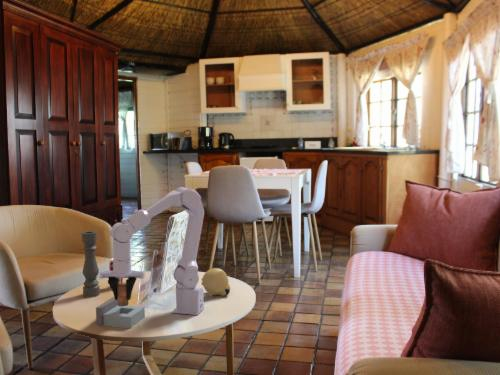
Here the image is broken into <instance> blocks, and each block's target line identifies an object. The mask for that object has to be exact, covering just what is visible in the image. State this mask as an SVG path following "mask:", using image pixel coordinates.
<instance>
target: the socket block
mask: <svg viewBox="0 0 500 375" xmlns="http://www.w3.org/2000/svg"><path fill="white" fill-rule="evenodd" d="M145 317H146V310H145V306H136V305H127V306H118V305H117V306H115V307H114V308H112V309H111V310H109V311H108V312H106V313H105V314H103V327H104V326H107V327H114V328H115V327H116V328H117V327H118V328H125V329H127V328H128V329H132V328H133V327H134V326H137V324H138V323H140V322H141V321H142V320H144V318H145Z"/></svg>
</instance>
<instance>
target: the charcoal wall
mask: <svg viewBox="0 0 500 375" xmlns="http://www.w3.org/2000/svg"><path fill="white" fill-rule="evenodd" d="M117 305H118V299H117V300H115V297H114V296H112V297H111V298H109V299H107V301H104V302H103V303H101V304H100V305H98V306H96V307H95V320H96V326H98V327H102V326H103V327H104V325H103V314H105V313H106V312H108V311H109V310H111V309H112V308H114V307H115V306H117Z"/></svg>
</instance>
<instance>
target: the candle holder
mask: <svg viewBox="0 0 500 375" xmlns="http://www.w3.org/2000/svg"><path fill="white" fill-rule="evenodd" d="M81 241H82V243H83V245H84V246H83V248H82V250H83V251H84V262H83V263H84V264H83V268H82V276H83V277H84V282H83V287H82V294H83V295H82V296H83V297H85V298H94V297H97V296H99V295H100V294H101V293H100V292H101V291H100V285H99V284H100V283H99V280H98V279H97V278H98V275H99V274H100V269H99V267H98V262H97V258H96V250H97V248H98V247H97V246H96V243H97V241H98V232H97V231H94V230H87V231H82V232H81Z"/></svg>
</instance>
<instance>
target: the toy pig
mask: <svg viewBox="0 0 500 375" xmlns="http://www.w3.org/2000/svg"><path fill="white" fill-rule="evenodd" d="M201 285H202V286H203V289H204V290H205V291H206V292H207V294H206V295H207V296H208V297H210V296H211V295H212V296H221V297H222V296H223V297H224V296H227V295H230V291H231V285H230V284H229V277H228V275H227V273H226V272H225V271H224V270H223V269H221V268H218V267H213V268H210V269H209V270H207V271H206V272H205V273H204V274H203V276H202V278H201Z"/></svg>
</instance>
